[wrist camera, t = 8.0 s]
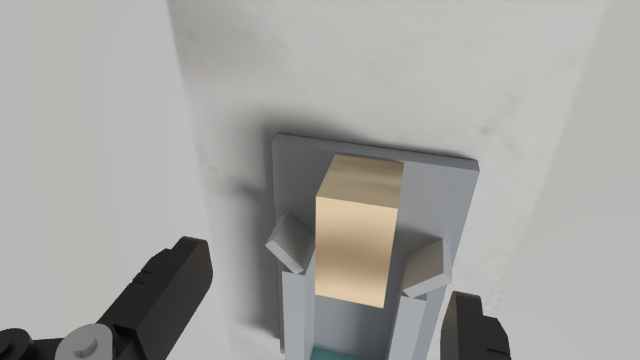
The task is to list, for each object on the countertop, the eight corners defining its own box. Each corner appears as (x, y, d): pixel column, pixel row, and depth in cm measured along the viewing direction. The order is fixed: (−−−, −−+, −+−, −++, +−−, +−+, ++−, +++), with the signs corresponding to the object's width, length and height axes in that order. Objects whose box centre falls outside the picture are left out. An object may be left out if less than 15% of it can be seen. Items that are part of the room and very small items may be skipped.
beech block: (335, 154, 23) (315, 196, 19) (404, 163, 22) (397, 208, 19) (331, 244, 27) (315, 294, 23) (390, 254, 26) (383, 308, 22)
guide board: (277, 133, 25) (252, 165, 21) (477, 160, 22) (485, 202, 19) (284, 341, 36) (268, 384, 33) (418, 373, 34) (416, 424, 30)
